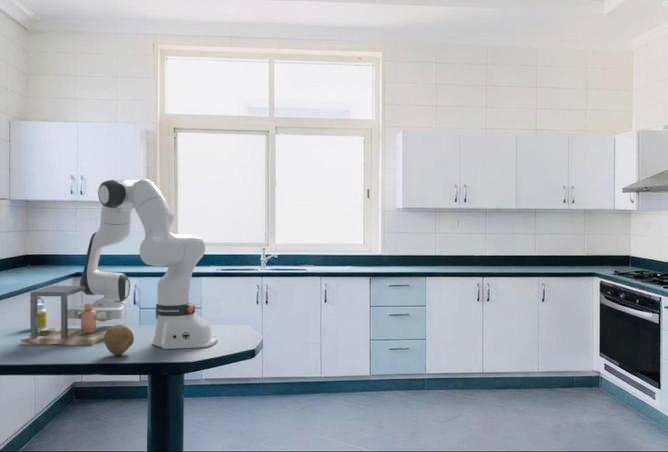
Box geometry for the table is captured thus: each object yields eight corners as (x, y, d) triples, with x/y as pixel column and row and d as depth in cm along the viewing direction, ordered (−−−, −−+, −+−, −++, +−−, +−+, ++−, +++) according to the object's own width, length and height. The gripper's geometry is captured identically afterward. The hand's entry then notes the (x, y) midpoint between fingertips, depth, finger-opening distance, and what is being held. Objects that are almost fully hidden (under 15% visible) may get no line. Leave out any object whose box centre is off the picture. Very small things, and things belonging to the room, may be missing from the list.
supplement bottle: (39, 330, 201) (38, 305, 201) (27, 329, 202) (27, 305, 202) (49, 327, 206) (49, 303, 206) (37, 326, 207) (37, 302, 207)
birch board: (111, 333, 197) (111, 328, 197) (92, 344, 181) (92, 338, 181) (45, 333, 196) (45, 327, 196) (20, 344, 180) (20, 338, 180)
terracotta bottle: (98, 329, 191) (98, 302, 191) (92, 332, 186) (92, 305, 186) (84, 329, 191) (84, 302, 191) (78, 332, 186) (78, 305, 186)
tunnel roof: (85, 329, 195) (85, 285, 195) (65, 339, 180) (65, 292, 180) (53, 328, 195) (53, 285, 195) (30, 338, 180) (30, 291, 180)
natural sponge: (116, 350, 174) (116, 321, 174) (139, 352, 172) (139, 322, 172) (98, 357, 166) (97, 326, 165) (121, 360, 163) (121, 328, 163)
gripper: (76, 301, 201) (58, 308, 187) (129, 301, 201) (115, 308, 188) (76, 317, 201) (58, 325, 187) (129, 317, 202) (115, 325, 188)
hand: (87, 316), depth 187 cm, fingers closed on terracotta bottle, 5 cm apart
